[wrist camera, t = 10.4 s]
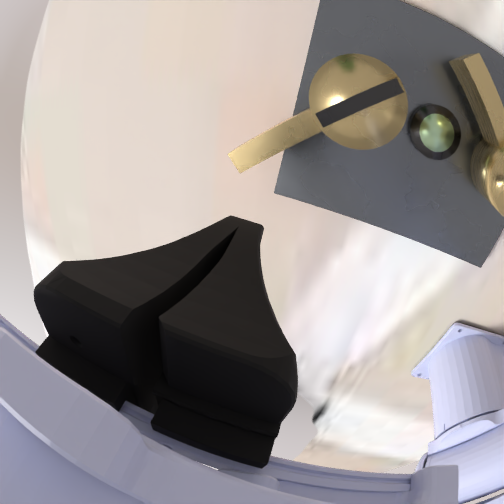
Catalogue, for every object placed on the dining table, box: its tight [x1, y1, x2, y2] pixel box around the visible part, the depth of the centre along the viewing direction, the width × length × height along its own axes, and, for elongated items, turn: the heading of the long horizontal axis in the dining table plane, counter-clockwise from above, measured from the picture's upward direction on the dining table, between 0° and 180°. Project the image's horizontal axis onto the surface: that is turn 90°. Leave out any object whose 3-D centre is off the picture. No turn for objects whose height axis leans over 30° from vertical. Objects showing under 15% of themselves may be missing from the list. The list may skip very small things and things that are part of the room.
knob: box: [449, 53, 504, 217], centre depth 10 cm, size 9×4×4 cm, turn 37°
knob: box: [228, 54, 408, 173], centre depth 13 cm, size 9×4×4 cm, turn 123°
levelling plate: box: [274, 0, 504, 268], centre depth 13 cm, size 16×14×2 cm
